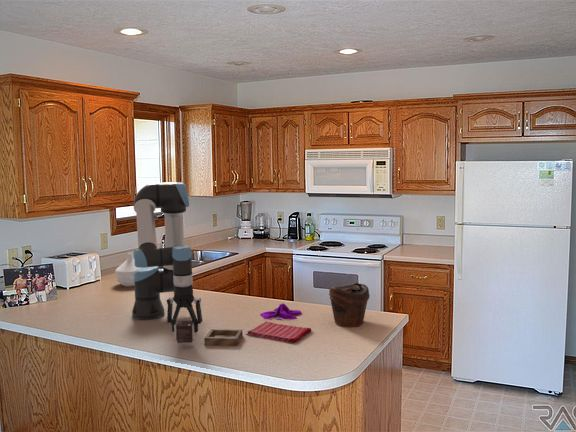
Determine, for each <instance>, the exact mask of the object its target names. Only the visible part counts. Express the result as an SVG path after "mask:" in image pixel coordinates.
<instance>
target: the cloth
mask: <svg viewBox="0 0 576 432" xmlns="http://www.w3.org/2000/svg"><path fill="white" fill-rule="evenodd" d="M259 316H261V317H263V319H264V320H270V319H274V318H275V320H278V321H284V320H298V317H296V316H302V311H301V310H297V309H294V310H293V309H290V308H289V306H287V305H286V304H285V303H282V302H281V303H280V304H279V306H278V307H277V308H274V309H273V311H272V310H270V311H269V310H268V311H263V312H261V313H260V314H259Z"/></svg>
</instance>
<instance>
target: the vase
mask: <svg viewBox="0 0 576 432" xmlns="http://www.w3.org/2000/svg"><path fill="white" fill-rule="evenodd" d="M138 269H140V268H137V267H135V263H134V252H128V253H127V258H126V259H125V261H124V262H122V264H120V265H119V266H118V267H117V268H115V271H114V275H115V278H116V281H117V282H118V283H119V284H120V285H122V286H124V287H135V285H134V273H135V271H136V270H138Z"/></svg>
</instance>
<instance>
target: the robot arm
mask: <svg viewBox="0 0 576 432" xmlns="http://www.w3.org/2000/svg"><path fill="white" fill-rule="evenodd" d="M187 189H188V188H187V185H186V184H185V183H184V182H176V181H175V182H173V181H172V182H158V183H157V182H156V183H155V182H153V183H147V184H146V185H145V186H143V187H142V188H140V189H139V190H138V192H137V194H136V195H135V197H134V200H133V211H134V212H135V213H136V231H137V242H138V243H137V246H138V247H137V248H138V249H135V250H134V251H133V258H134V263H135V267H137V268H140V269H138V270H136V271H135V273H134V285H135V286H134V298H135V299H134V304H133V307H132V310H131V312H132V313H131V315H132V318H133V319H136V320H152V319H153V320H154V319H156V318H157V319H158V318H160V317H163V316H164V315H165V307H164V305H163V302H162V300H161V294H162V293H172V292H173V297H168V299H166V303H167V314H166V316H167V317H166V322H167V324H170V325H171V332H172V333H174V341H176V342H177V323H178V322H177V320H178V317H179V314H180V310H181V308H183V309H184V308H186V310H187V311H188V313H189V316H190V319H191V320H192V321H193V325H192V342H195V341H196V340H197V333H198V331H199V325H201V323H202V322H203V316H202V315H203V314H202V306H201V302H202V299H201V298H196V297H195V296H194V285H193V282H194V281H193V261H192V260H193V258H192V257H193V253H192V247H191V246H190V245H185V241H184V237H185V236H184V214H185V213H186V212H187V208H188V207H190V199H189V194H188V190H187ZM156 209H160V213H162V214H163V215H164V237H165V239H164V240H165V242H164V243H165V247H158V244H157V243H158V242H157V232H156V230H157V229H156V222H155V211H156ZM159 267H162V268H159ZM174 303H175V304H176V305H175V309H174V310H175V311H174V313H173V305H174ZM193 303H194V304H195V310H194V308H193V307H194V306H193ZM195 311H196V313H195Z"/></svg>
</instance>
